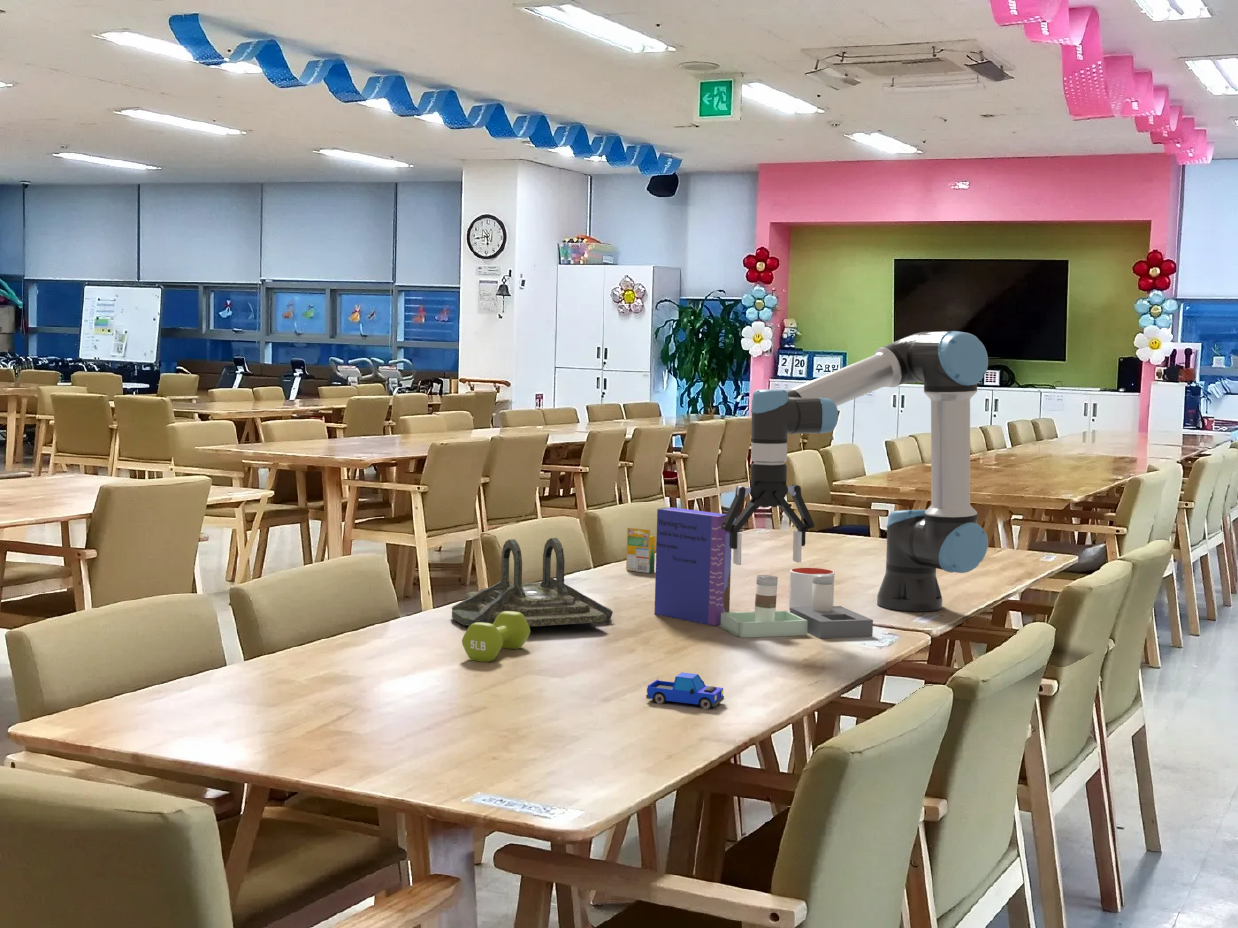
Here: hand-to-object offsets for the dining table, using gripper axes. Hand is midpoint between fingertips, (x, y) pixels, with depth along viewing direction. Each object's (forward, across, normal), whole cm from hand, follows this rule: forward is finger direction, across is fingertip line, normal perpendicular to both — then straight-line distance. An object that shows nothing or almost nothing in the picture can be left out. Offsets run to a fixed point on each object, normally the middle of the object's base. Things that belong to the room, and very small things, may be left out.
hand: (767, 562), depth 292 cm
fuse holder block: (+15, -14, +1) cm, 21 cm away
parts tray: (+14, +1, 0) cm, 15 cm away
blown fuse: (+14, +1, 0) cm, 14 cm away
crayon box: (+15, +4, -80) cm, 81 cm away
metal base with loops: (+14, +47, -19) cm, 52 cm away
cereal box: (+15, +12, -15) cm, 24 cm away
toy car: (+14, +37, +54) cm, 67 cm away
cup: (+15, -17, -16) cm, 28 cm away
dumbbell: (+14, +60, +12) cm, 63 cm away
